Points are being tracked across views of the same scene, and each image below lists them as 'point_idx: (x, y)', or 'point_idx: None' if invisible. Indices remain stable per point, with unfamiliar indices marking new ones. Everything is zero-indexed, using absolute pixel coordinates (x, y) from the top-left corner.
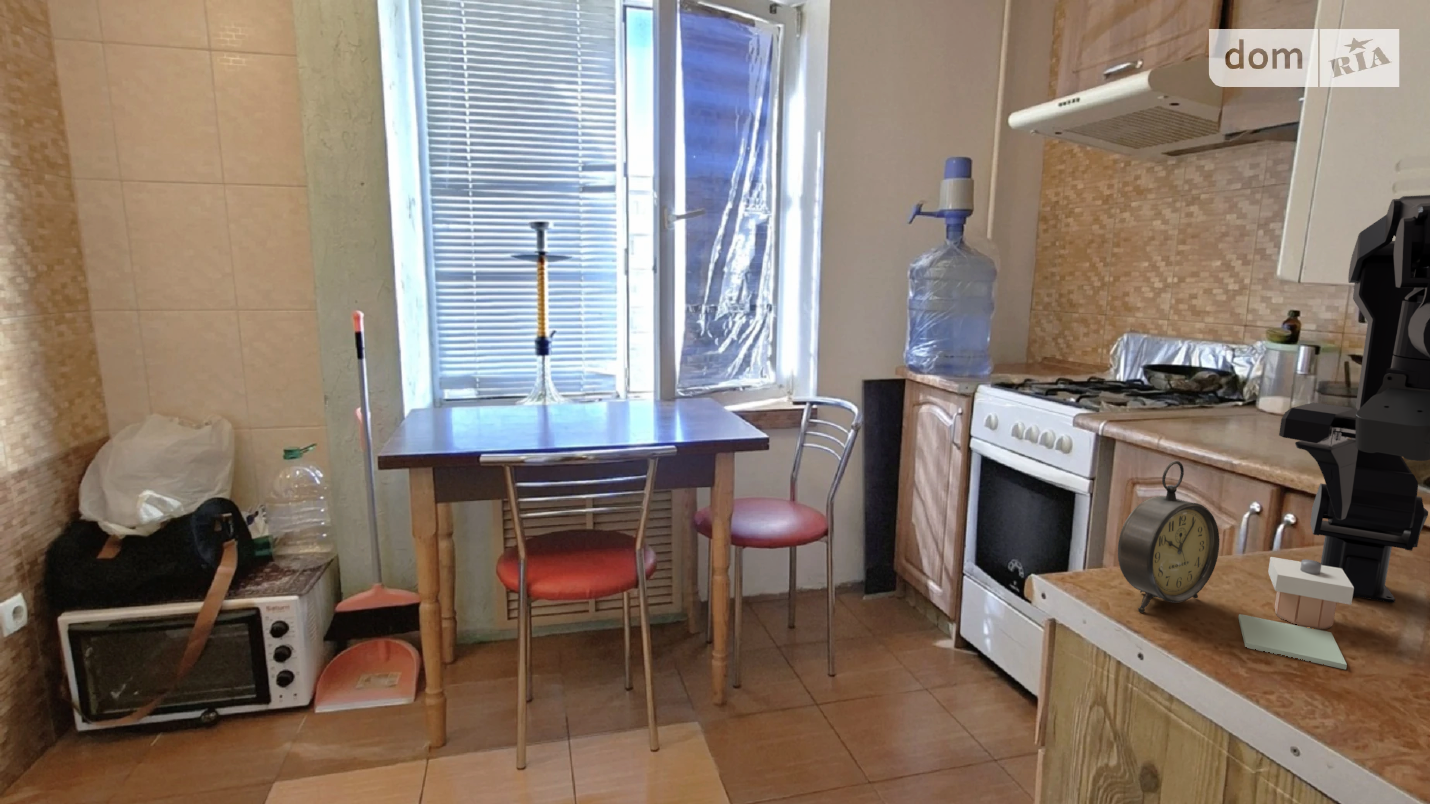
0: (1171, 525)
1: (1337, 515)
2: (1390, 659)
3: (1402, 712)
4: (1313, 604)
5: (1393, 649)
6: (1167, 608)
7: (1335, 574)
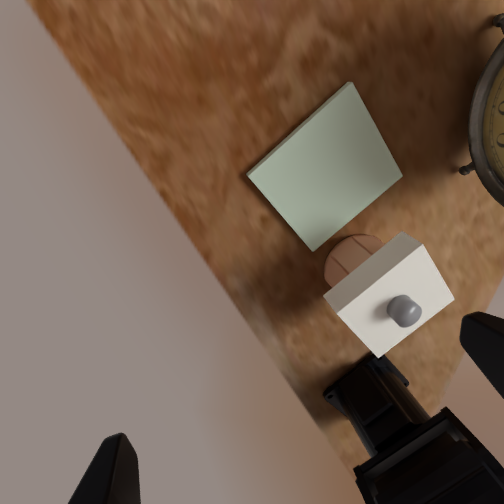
0: None
1: (485, 316)
2: (243, 265)
3: (133, 122)
4: (354, 264)
5: (258, 294)
6: (472, 89)
7: (373, 331)
